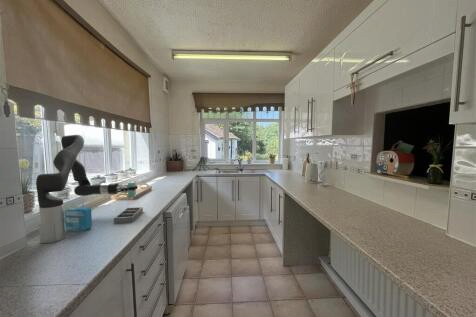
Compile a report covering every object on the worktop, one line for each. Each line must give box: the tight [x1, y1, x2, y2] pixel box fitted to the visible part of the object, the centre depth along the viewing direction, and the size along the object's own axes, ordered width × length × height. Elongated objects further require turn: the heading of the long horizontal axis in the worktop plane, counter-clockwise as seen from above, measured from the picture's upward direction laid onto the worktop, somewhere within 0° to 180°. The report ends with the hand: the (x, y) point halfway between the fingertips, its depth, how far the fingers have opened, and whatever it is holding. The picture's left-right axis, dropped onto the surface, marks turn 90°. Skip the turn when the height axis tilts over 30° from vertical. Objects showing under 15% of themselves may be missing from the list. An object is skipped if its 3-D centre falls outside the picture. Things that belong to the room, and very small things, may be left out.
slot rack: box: [113, 206, 144, 224], centre depth 146 cm, size 22×11×4 cm, turn 8°
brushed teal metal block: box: [127, 181, 137, 198], centre depth 152 cm, size 4×4×10 cm
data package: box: [64, 206, 93, 232], centre depth 125 cm, size 12×4×12 cm, turn 89°
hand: (136, 187), depth 152 cm, fingers closed on brushed teal metal block, 3 cm apart
